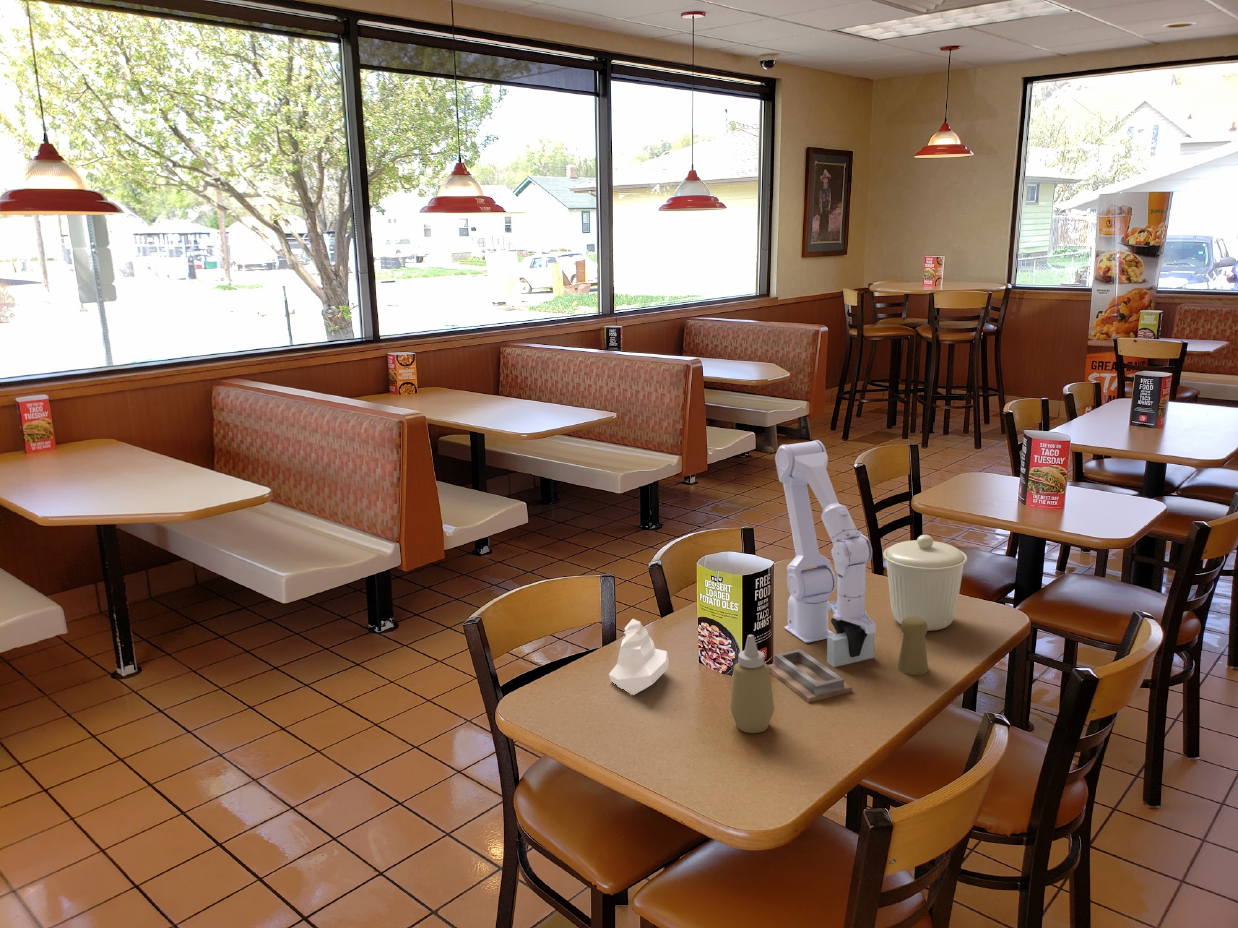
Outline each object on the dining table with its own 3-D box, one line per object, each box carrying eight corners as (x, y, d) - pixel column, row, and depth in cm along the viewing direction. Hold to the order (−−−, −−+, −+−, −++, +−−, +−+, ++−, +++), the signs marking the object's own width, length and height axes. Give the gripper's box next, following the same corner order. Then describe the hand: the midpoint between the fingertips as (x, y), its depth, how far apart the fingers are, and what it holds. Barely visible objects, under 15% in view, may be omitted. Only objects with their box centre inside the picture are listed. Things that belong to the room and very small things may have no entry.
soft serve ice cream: (600, 701, 185) (583, 634, 184) (631, 675, 198) (616, 612, 198) (655, 696, 179) (638, 626, 179) (683, 670, 192) (667, 605, 192)
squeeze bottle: (763, 741, 164) (762, 648, 160) (723, 730, 168) (720, 640, 164) (781, 721, 171) (780, 631, 167) (741, 711, 175) (739, 624, 171)
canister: (868, 626, 210) (869, 539, 205) (901, 601, 223) (903, 519, 219) (946, 645, 199) (949, 553, 194) (976, 618, 212) (980, 531, 207)
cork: (895, 672, 188) (896, 622, 185) (900, 660, 193) (902, 611, 190) (925, 677, 185) (927, 626, 182) (930, 664, 190) (932, 615, 187)
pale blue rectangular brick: (833, 667, 191) (834, 640, 190) (827, 662, 193) (827, 636, 192) (873, 657, 195) (874, 631, 193) (866, 653, 197) (867, 627, 195)
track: (766, 669, 192) (766, 656, 191) (807, 660, 195) (807, 646, 194) (808, 702, 177) (808, 688, 176) (852, 691, 180) (852, 677, 180)
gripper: (815, 584, 196) (815, 643, 199) (855, 607, 183) (855, 670, 186) (843, 579, 198) (842, 637, 201) (885, 601, 185) (883, 663, 188)
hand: (850, 652), depth 194 cm, fingers closed on pale blue rectangular brick, 2 cm apart
